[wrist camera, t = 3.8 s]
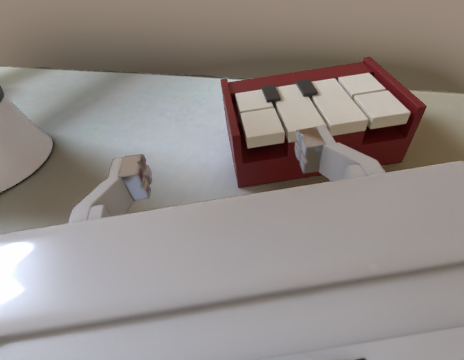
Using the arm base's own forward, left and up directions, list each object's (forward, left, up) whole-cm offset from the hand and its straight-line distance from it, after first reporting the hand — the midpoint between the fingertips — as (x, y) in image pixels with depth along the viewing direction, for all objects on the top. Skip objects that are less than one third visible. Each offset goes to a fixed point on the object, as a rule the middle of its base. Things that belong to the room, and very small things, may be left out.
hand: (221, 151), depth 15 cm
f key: (+17, +12, -9) cm, 23 cm away
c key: (+4, +12, -9) cm, 16 cm away
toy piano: (+11, +16, -14) cm, 24 cm away
